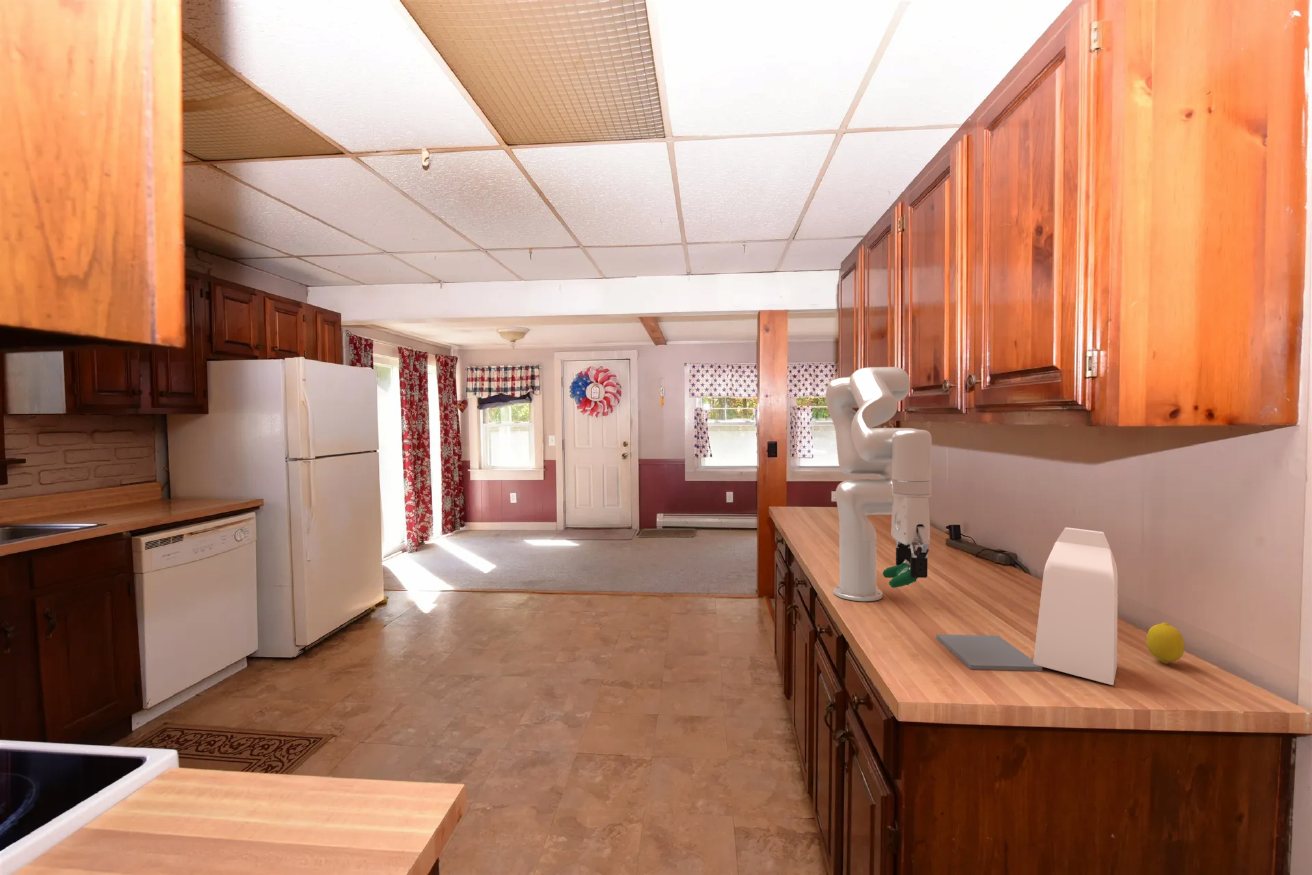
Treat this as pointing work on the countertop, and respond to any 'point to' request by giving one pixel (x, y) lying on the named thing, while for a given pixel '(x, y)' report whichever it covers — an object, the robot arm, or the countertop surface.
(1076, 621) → the milk
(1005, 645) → the slate mat
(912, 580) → the gaming controller
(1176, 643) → the lemon
